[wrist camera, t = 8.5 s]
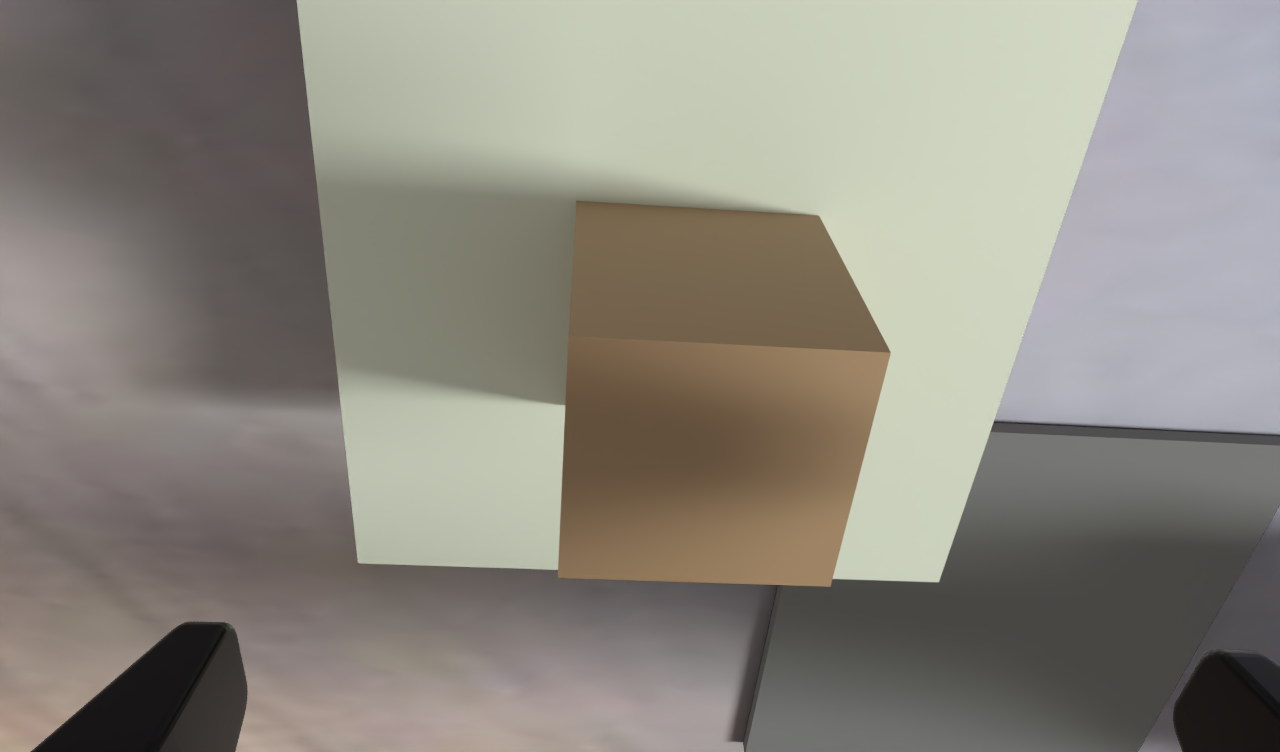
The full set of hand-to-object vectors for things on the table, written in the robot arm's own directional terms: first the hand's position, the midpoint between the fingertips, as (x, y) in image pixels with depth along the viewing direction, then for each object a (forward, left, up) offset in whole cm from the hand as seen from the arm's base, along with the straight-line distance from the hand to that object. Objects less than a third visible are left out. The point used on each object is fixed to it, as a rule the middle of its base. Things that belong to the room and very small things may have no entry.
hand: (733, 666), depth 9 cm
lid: (0, 0, -8) cm, 8 cm away
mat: (-10, +11, -12) cm, 19 cm away
